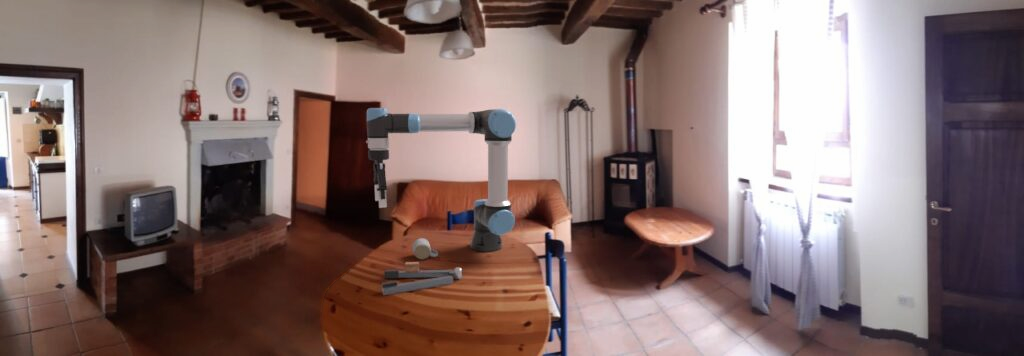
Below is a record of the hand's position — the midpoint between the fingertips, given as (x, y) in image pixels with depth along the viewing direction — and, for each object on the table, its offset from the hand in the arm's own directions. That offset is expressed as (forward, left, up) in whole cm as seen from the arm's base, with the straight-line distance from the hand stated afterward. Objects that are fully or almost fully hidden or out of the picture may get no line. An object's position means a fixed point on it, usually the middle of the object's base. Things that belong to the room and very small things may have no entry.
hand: (380, 203), depth 157 cm
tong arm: (-13, +12, -27) cm, 33 cm away
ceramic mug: (-19, -11, -28) cm, 36 cm away
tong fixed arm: (-10, +20, -28) cm, 36 cm away
